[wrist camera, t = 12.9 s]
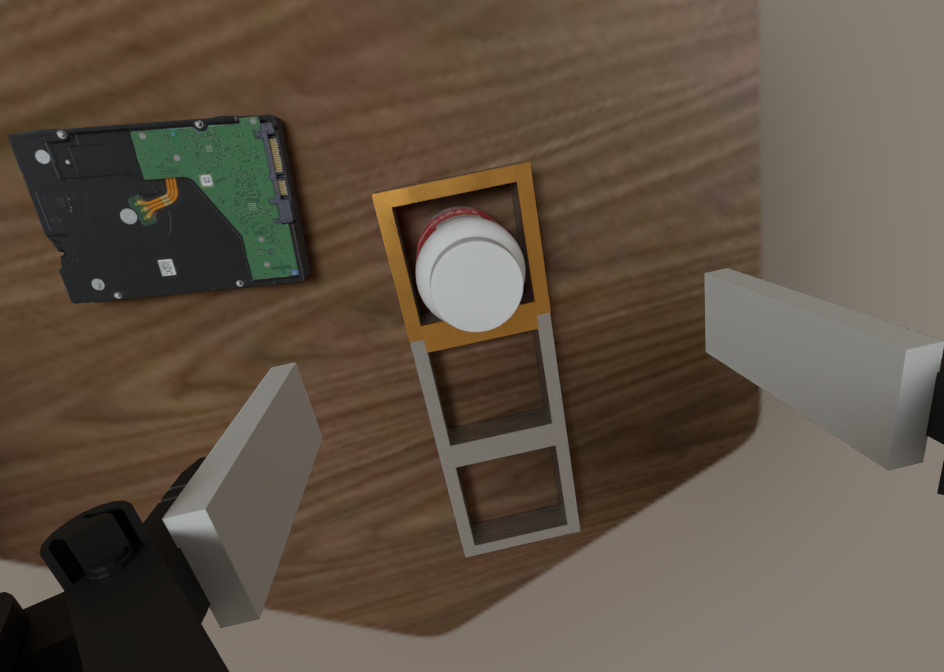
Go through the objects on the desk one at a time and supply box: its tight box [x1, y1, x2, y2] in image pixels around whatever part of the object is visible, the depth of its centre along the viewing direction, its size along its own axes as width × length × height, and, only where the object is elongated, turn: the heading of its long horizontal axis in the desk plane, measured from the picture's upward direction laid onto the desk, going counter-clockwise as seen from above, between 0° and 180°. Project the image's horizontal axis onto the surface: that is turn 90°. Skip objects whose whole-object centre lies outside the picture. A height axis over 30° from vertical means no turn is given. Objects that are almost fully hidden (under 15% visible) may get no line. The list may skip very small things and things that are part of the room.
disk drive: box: [8, 115, 311, 304], centre depth 30 cm, size 10×3×15 cm
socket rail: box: [372, 162, 580, 557], centre depth 36 cm, size 10×30×3 cm, turn 11°
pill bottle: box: [416, 206, 525, 332], centre depth 28 cm, size 6×6×11 cm
